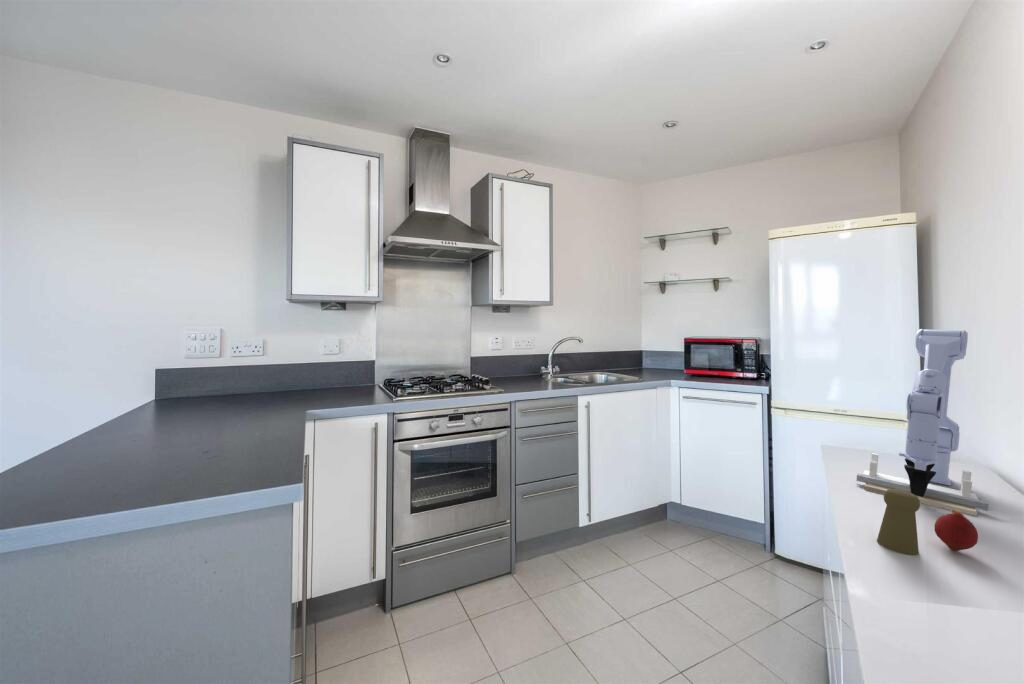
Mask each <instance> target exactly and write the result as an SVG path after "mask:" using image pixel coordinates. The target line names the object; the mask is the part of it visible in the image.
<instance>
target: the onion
mask: <svg viewBox="0 0 1024 684" xmlns="http://www.w3.org/2000/svg"><path fill="white" fill-rule="evenodd" d="M934 532H935V535H936V536H937V537H938V539H939V540H941V542H943V544H945V545H946V547H947V548H949V550H951V551H954V552H958V551H959V552H960V551H964V550H969V549H972V548H974V546H976V545H977V544H978V540H979V532H978V530H977V528H976V526H975V525H974V524H973V522H972V521H971V520H970V519H968V518H967V517H965V515H963V513H961V512H959V511H958V510H955V509H954V510H951V513H947V514H946V513H945V514H943V515H941V516H940V517H938V518H937V519H936V521H935V523H934Z"/></svg>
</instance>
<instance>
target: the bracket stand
mask: <svg viewBox="0 0 1024 684" xmlns="http://www.w3.org/2000/svg"><path fill="white" fill-rule="evenodd" d="M879 455H880V454H878V453H873V452H872V453H871V457H870V462H869V470H865V469H864V471H863V474H862V475H867V476H871V477H876V478H881V479H885V480H890V481H894V482H899V483H903V484H908V485H910V481H909V478H907V479H906V478H903V477H899V476H892V475H888V474H885V473H879V472H878V468H879V467H878V466H879ZM971 477H972V471H968V470H962V473H961V481H960V482H961V484H960V490H959V489H954V488H950V487H946V486H940V485H936V484H930V483H929V484H928V486H927V489H931V490H935V491H940V492H944V493H949V494H953V495H958V496H962V497H967V498H971V499H976V500H979V498H978V495H977V494H976V493H973V492H972V487H973V481H972V480H971V479H972V478H971Z"/></svg>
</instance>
